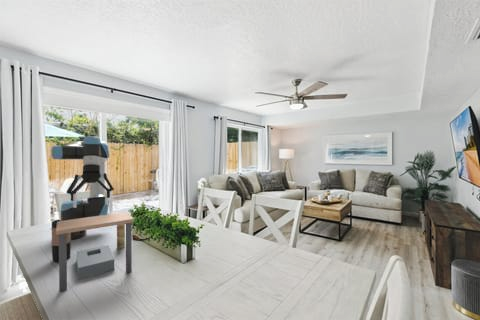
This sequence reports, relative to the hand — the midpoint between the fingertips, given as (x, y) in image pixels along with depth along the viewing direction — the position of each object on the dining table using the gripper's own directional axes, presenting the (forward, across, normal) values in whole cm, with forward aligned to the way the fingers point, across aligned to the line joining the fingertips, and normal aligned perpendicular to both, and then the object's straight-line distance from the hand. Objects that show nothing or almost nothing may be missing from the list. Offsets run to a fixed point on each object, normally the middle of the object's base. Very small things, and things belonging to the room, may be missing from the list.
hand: (90, 206), depth 114 cm
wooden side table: (+31, +4, -7) cm, 32 cm away
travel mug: (+25, -15, +15) cm, 32 cm away
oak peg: (+24, +11, +20) cm, 33 cm away
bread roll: (+21, +22, +33) cm, 45 cm away
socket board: (+29, +2, +2) cm, 29 cm away
